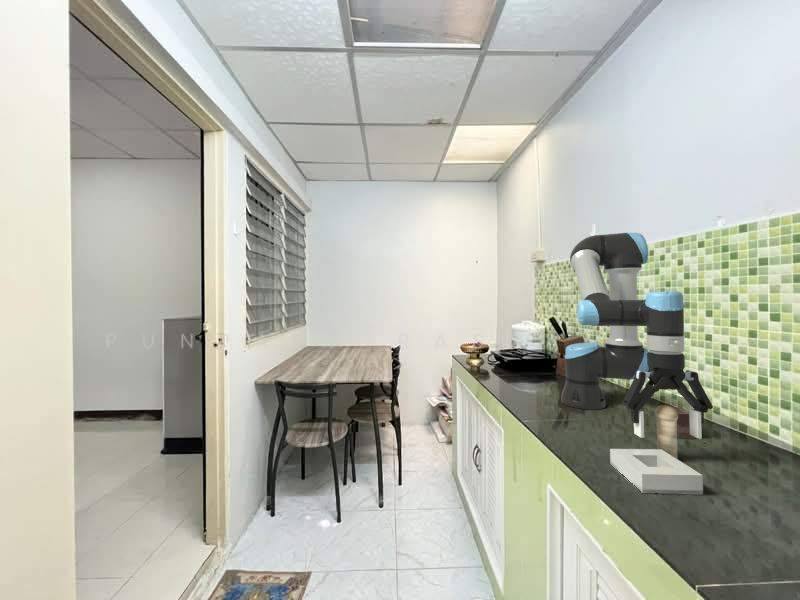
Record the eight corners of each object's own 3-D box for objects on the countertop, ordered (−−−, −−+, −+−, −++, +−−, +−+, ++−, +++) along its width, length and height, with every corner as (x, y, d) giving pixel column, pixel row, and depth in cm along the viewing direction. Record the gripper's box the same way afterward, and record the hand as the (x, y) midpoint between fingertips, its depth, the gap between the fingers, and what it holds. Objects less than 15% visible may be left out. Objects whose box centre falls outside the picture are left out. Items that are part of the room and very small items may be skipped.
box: (695, 439, 96) (694, 414, 96) (671, 438, 97) (670, 413, 97) (682, 431, 102) (681, 407, 102) (659, 430, 103) (659, 406, 103)
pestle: (651, 454, 87) (650, 402, 88) (670, 454, 87) (669, 402, 87) (664, 462, 83) (663, 408, 83) (683, 462, 83) (682, 408, 83)
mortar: (610, 465, 82) (610, 448, 82) (661, 465, 81) (661, 449, 81) (642, 493, 70) (642, 474, 70) (703, 494, 69) (702, 475, 69)
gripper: (622, 354, 82) (624, 441, 82) (731, 354, 80) (733, 443, 80) (606, 350, 90) (607, 429, 89) (704, 350, 88) (706, 431, 88)
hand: (667, 436), depth 85 cm, fingers open, 13 cm apart
